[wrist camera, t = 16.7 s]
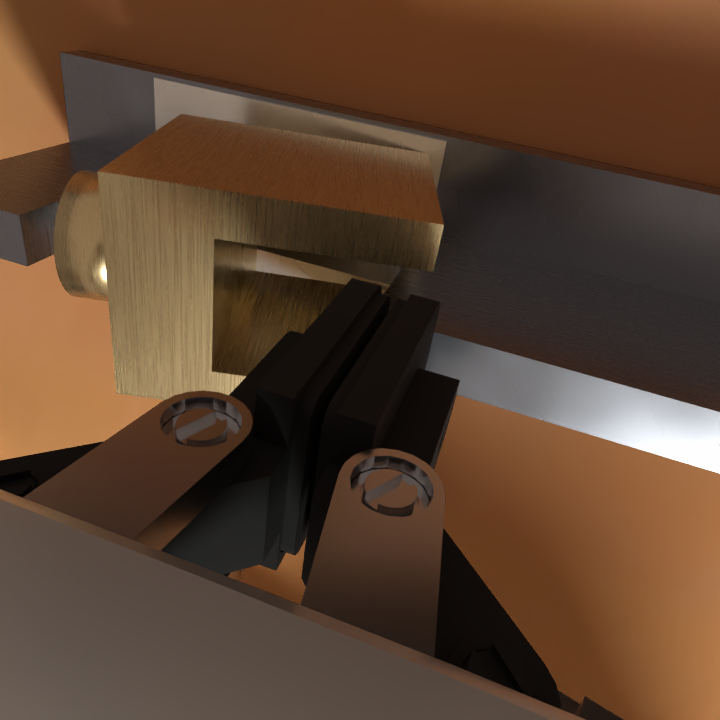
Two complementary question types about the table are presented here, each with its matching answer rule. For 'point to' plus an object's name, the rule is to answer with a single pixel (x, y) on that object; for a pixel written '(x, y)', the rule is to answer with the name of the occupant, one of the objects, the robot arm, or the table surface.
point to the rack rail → (468, 255)
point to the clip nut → (231, 242)
